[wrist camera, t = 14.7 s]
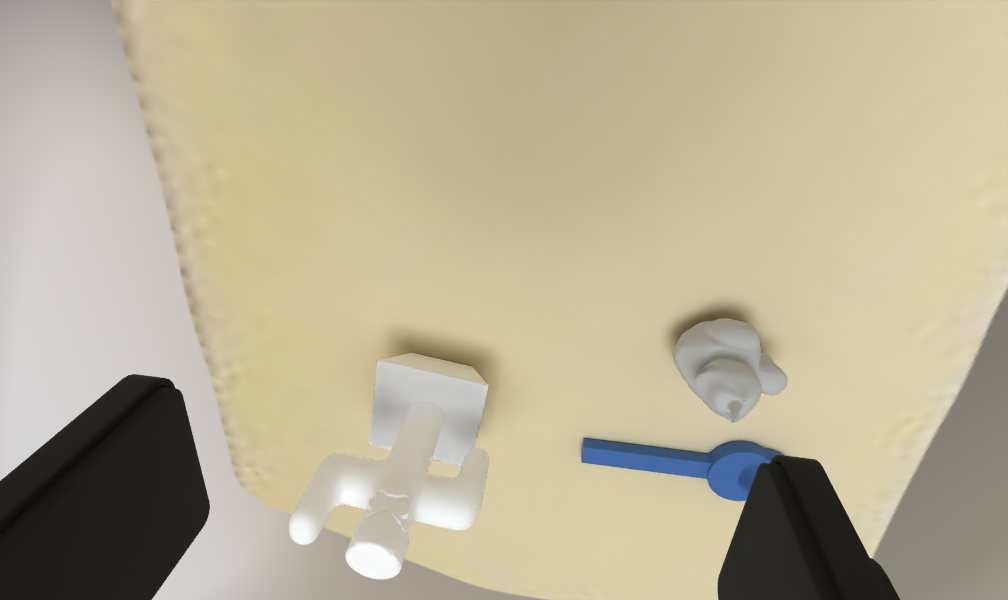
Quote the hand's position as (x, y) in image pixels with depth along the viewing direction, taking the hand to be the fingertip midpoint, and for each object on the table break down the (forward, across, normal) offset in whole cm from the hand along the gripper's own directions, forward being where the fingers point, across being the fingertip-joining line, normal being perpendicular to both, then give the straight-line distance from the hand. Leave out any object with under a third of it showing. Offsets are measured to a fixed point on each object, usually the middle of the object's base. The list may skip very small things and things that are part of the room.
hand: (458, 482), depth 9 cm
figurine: (+26, +6, +18) cm, 33 cm away
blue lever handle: (+26, -12, +22) cm, 36 cm away
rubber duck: (+26, -12, +12) cm, 32 cm away
